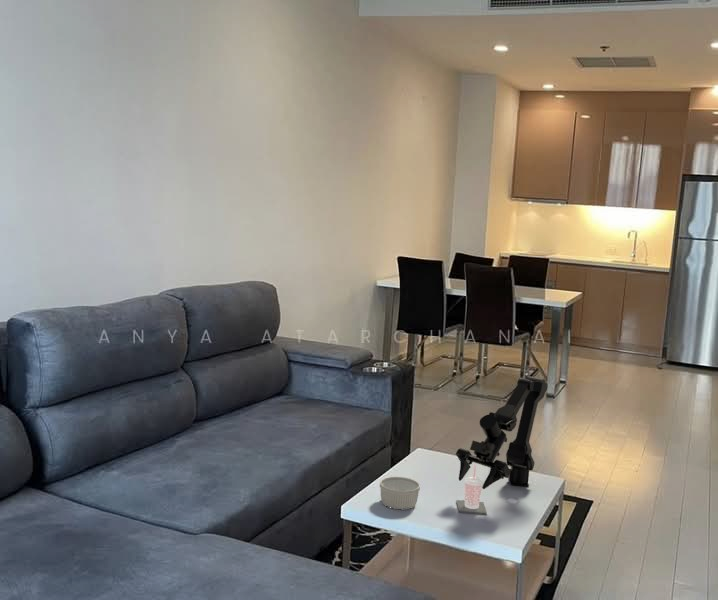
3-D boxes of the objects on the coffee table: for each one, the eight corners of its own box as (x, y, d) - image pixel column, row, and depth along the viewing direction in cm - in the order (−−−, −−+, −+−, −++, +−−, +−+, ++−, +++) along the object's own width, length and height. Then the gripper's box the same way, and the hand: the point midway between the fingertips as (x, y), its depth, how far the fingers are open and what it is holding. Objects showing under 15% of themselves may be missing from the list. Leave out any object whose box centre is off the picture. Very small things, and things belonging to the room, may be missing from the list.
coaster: (483, 503, 246) (483, 502, 246) (486, 514, 237) (486, 513, 237) (456, 501, 247) (456, 499, 246) (458, 512, 238) (458, 510, 238)
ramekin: (370, 502, 241) (371, 482, 240) (395, 492, 251) (396, 473, 250) (402, 515, 233) (403, 494, 232) (426, 504, 243) (428, 484, 242)
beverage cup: (464, 509, 239) (468, 468, 237) (460, 502, 245) (463, 461, 243) (483, 510, 239) (486, 468, 238) (478, 502, 245) (481, 462, 244)
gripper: (460, 424, 248) (438, 463, 241) (509, 438, 235) (487, 479, 229) (472, 442, 255) (451, 480, 248) (519, 457, 242) (498, 497, 235)
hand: (471, 484), depth 240 cm, fingers open, 9 cm apart
